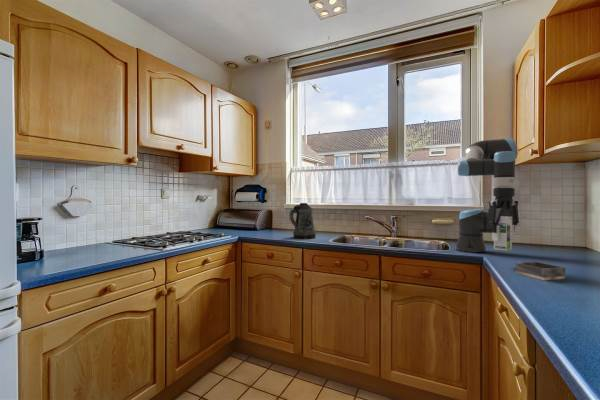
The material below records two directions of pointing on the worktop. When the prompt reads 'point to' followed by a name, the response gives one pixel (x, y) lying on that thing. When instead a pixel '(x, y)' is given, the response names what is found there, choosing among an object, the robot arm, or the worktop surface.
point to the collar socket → (540, 270)
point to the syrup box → (504, 234)
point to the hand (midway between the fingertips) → (502, 239)
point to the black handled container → (303, 222)
